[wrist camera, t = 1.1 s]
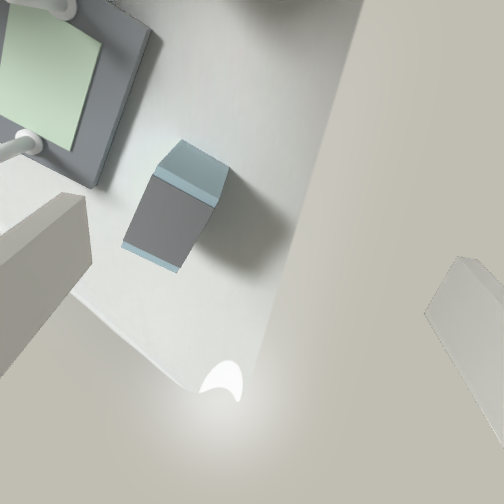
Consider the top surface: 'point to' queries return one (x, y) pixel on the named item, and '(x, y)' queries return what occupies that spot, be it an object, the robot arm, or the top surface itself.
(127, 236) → the block
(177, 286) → the top surface
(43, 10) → the pin tray
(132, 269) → the top surface
